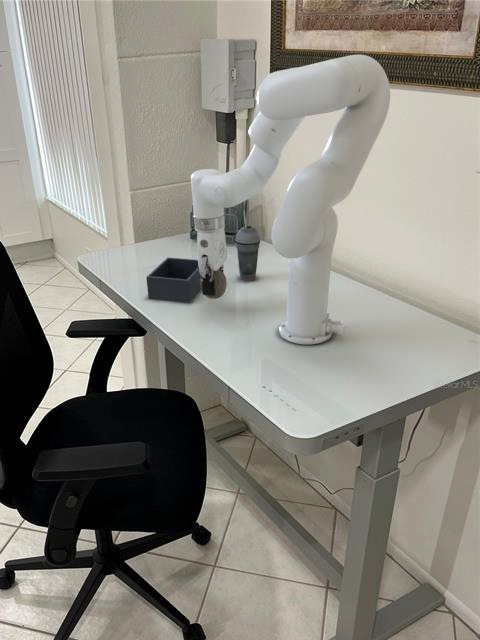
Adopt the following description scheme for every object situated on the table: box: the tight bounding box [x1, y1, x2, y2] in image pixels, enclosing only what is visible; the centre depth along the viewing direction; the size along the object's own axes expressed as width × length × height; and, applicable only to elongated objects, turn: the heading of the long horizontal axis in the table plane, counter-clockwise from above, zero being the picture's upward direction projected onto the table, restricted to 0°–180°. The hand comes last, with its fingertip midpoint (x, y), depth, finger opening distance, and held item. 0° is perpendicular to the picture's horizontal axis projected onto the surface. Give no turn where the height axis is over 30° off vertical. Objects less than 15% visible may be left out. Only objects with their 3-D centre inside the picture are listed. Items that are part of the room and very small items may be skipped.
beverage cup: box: [234, 209, 261, 282], centre depth 169 cm, size 7×7×20 cm
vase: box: [200, 267, 228, 300], centre depth 154 cm, size 7×7×9 cm
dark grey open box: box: [145, 257, 202, 304], centre depth 168 cm, size 12×15×7 cm
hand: (213, 288), depth 155 cm, fingers closed on vase, 7 cm apart
